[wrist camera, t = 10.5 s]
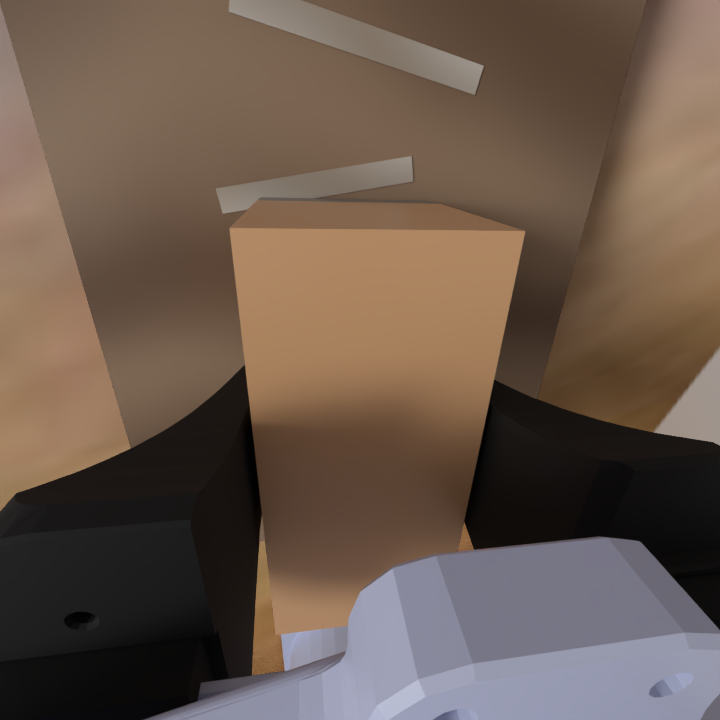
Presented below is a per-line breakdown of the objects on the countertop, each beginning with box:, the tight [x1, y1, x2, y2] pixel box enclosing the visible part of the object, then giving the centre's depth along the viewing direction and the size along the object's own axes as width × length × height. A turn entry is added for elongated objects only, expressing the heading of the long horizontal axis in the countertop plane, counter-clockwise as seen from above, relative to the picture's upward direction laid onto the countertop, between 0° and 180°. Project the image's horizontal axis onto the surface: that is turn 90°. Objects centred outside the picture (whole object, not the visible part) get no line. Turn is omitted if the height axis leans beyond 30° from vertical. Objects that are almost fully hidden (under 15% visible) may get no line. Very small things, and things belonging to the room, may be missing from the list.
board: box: [0, 0, 647, 541], centre depth 12 cm, size 20×14×2 cm
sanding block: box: [229, 197, 525, 635], centre depth 10 cm, size 10×4×5 cm, turn 178°
